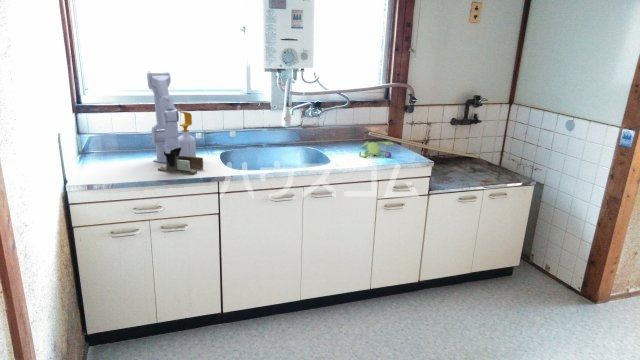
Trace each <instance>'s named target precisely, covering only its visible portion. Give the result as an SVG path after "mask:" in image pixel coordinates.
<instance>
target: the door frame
mask: <svg viewBox="0 0 640 360" xmlns="http://www.w3.org/2000/svg"><path fill="white" fill-rule="evenodd" d="M179 160H187V161H190V171H186V170H177V171H173V170H167V166H166V167H165V166H160V167H159V168H157V171H159V172H167V173H176V174H184V175H192V176H193V175H195V174H198V172H197V170H204V159H203V157H200V156H199V157H198V156H196V157H190V156H181V155H179ZM192 169H194V170H192ZM195 169H196V170H195Z"/></svg>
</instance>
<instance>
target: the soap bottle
mask: <svg viewBox="0 0 640 360" xmlns="http://www.w3.org/2000/svg"><path fill="white" fill-rule="evenodd" d="M179 113H180V114H181V113H182V114H183V116H184V123H182V124H179V127H182V128H183V129H182V130H181V132H182V134H181V135H180V136H178V140H179V148H181V151H180V154H179V155H181V156H190V157H197V152H196V151H197V150H196V139H195V137H194V136H192V135H191V134H190V131H189V129H188V128H189V126H192V124H193V119H192V113H190V112H187V111H181V110H180V111H179Z"/></svg>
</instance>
